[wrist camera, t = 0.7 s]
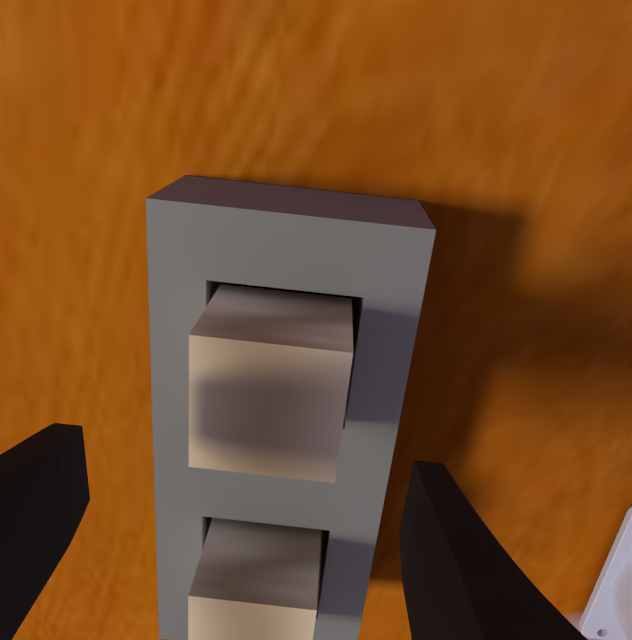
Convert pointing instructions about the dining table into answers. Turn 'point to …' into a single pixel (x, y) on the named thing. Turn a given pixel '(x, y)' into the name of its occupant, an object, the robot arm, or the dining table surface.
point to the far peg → (255, 583)
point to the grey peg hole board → (364, 385)
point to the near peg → (269, 382)
